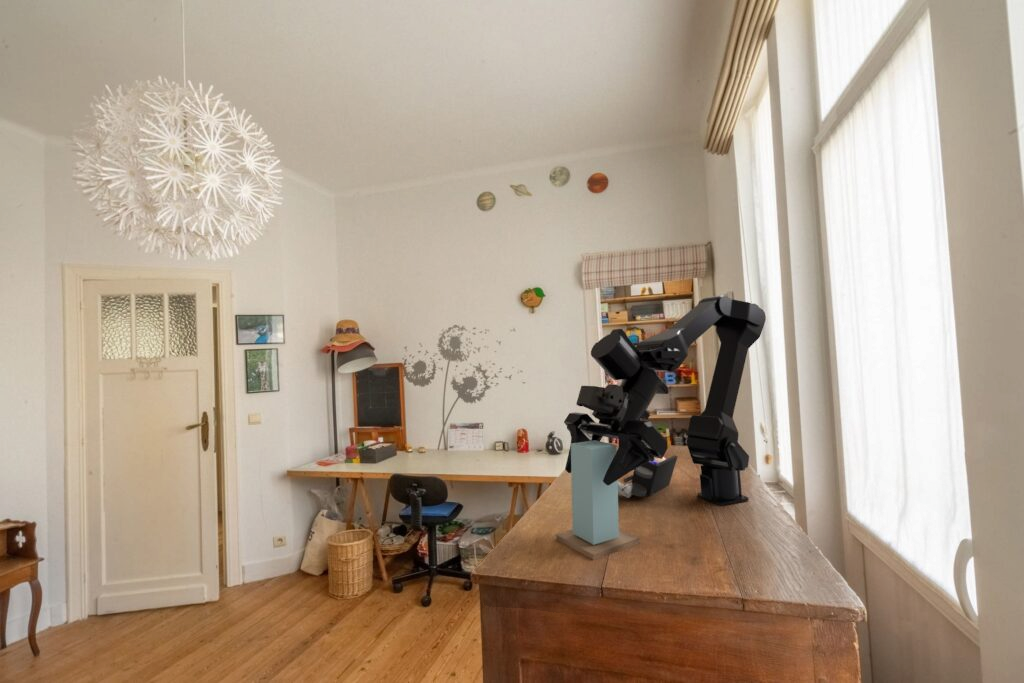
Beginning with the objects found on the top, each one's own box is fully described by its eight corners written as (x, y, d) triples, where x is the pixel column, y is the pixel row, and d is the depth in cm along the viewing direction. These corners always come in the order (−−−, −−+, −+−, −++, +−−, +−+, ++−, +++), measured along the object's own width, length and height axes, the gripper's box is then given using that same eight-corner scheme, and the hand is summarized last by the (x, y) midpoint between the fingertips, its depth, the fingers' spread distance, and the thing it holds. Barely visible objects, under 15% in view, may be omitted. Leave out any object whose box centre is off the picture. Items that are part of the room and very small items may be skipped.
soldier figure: (619, 490, 97) (652, 485, 86) (609, 509, 94) (642, 507, 84) (592, 467, 97) (621, 460, 86) (581, 486, 94) (610, 481, 84)
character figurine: (619, 499, 88) (654, 481, 99) (653, 503, 83) (686, 484, 94) (613, 459, 89) (649, 446, 100) (647, 461, 84) (681, 447, 95)
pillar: (597, 526, 72) (595, 440, 73) (618, 537, 68) (616, 445, 68) (572, 533, 70) (570, 443, 70) (593, 544, 65) (591, 448, 66)
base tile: (599, 529, 75) (599, 520, 75) (639, 547, 67) (639, 537, 67) (556, 544, 70) (555, 534, 70) (594, 565, 63) (593, 554, 63)
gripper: (569, 367, 80) (520, 438, 74) (647, 365, 64) (593, 456, 58) (605, 406, 84) (562, 476, 78) (688, 414, 67) (641, 503, 61)
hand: (585, 477), depth 69 cm, fingers open, 9 cm apart
